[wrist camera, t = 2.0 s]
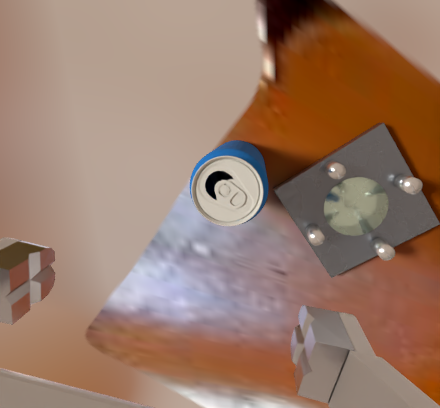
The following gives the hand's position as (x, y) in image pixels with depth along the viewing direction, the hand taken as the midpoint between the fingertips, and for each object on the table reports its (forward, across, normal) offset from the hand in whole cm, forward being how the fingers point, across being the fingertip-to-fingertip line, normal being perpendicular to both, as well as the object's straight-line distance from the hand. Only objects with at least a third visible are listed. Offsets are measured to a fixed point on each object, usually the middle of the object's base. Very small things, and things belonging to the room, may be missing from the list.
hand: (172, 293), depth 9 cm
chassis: (+25, -14, +2) cm, 29 cm away
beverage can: (+26, 0, 0) cm, 26 cm away
